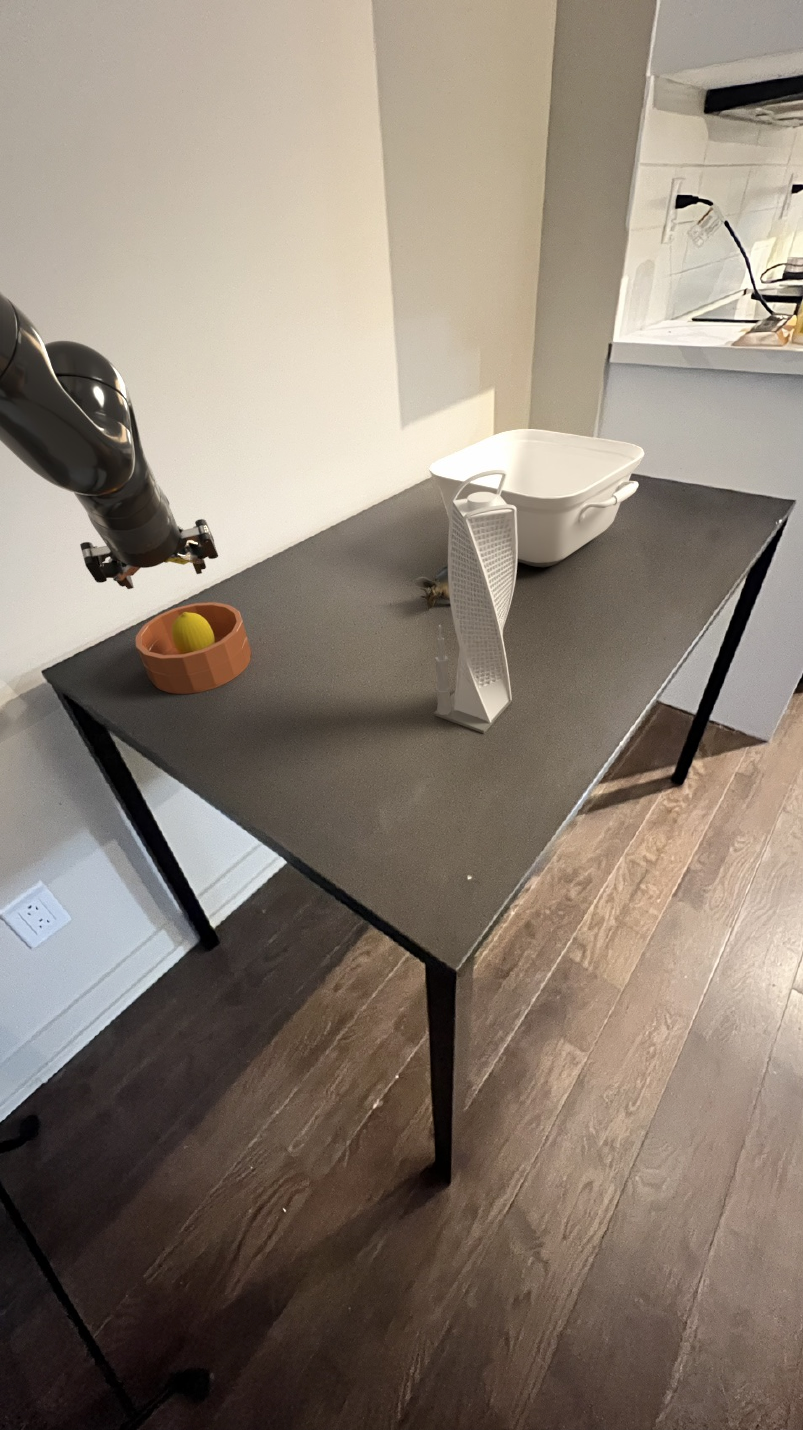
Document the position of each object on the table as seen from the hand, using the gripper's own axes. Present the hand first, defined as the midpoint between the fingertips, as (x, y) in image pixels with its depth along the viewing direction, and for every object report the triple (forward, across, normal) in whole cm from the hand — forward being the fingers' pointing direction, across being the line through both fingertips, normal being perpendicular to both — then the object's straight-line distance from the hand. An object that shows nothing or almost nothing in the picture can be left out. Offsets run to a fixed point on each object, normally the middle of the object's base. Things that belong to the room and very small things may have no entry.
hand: (164, 574), depth 79 cm
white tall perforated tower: (-6, +33, -28) cm, 44 cm away
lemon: (+12, +1, -9) cm, 15 cm away
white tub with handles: (+22, +61, 0) cm, 65 cm away
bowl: (+13, +1, -9) cm, 16 cm away
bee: (+13, +40, -9) cm, 43 cm away
